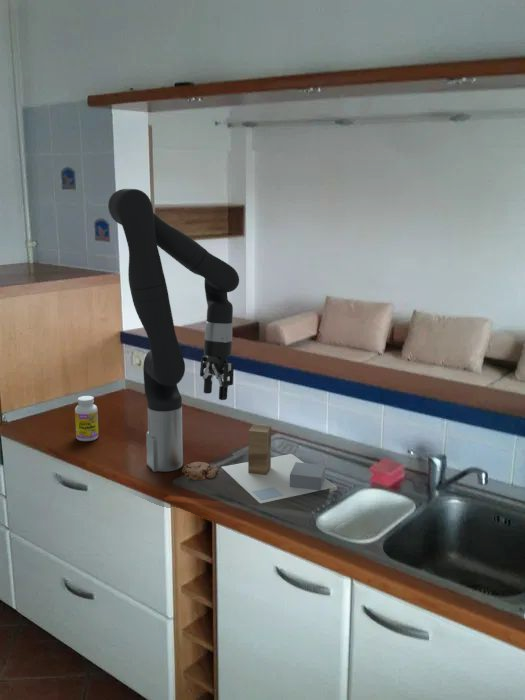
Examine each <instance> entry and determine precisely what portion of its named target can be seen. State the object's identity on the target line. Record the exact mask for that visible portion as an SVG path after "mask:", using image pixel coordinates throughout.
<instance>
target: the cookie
mask: <svg viewBox="0 0 525 700" xmlns="http://www.w3.org/2000/svg"><path fill="white" fill-rule="evenodd" d="M218 471H219V469H218V467H216V466H210V464H209V463H208V462H203V461H202V462H201V461H195V462H191V463H188V464H185V465H184V466H182V470H181V472H182V473H183V474H184V476H185V477H186V479H190V480H193V481H197V480H198V481H199V480H201V481H204V480H206V479H214V478H215V477H216V475H217V473H218Z"/></svg>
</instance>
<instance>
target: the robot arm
mask: <svg viewBox="0 0 525 700" xmlns="http://www.w3.org/2000/svg"><path fill="white" fill-rule="evenodd" d="M107 205H108V212H109V214H110V216H111V218H112V219H113V221H115V222H116V223H117V224H119V225H120V226H122V229H123V232H124V236H125V240H126V244H127V247H128V272H127V273H128V285H129V289H130V295H131V298H132V299H131V300H132V304H133V306H134V309H135V312H136V314H137V316H138V318H139V320H140V322H141V325H142V327H143V329H144V331H145V333H146V335H147V339H148V341H149V342H148V343H149V345H150V346H149V348H150V350H149V351H148V352H147V353H146V354H145V356H144V359H143V365H142V366H143V367H142V368H143V370H142V371H143V386H144V396H145V398H146V402H147V431H146V433H145V438H146V439H145V440H146V441H145V442H146V443H145V446H146V465H147V466H148V467H149V469H151V471H152V472H154V473H155V472H172V471H177V470H179V469H181V468H183V465H184V464H183V463H184V461H183V460H184V455H183V453H184V452H183V404H182V403H183V402H182V401H183V399H182V396H181V393H180V391H179V388H178V384H179V383H180V382H181V381H182V380H183V379H184V378H183V377H184V376H185V372H186V371H185V370H186V365H185V360H184V357H183V354H182V350H181V347H180V344H179V341H178V338H177V334H176V329H175V323H174V318H173V313H172V308H171V302H170V295H169V291H168V285H167V281H166V278H165V273H164V268H163V263H162V259H161V255H160V252H159V248H160V249H161V250H162V251H163V252H165V253H166V254H167V255H169V256H170V257H172V258H173V259H174V260H175V261H176V262H177V263H179V264H180V265H182V266H183V267H184V268H185V269H187V270H189V272H191V273H193V274H194V275H197V276H200V277H203V278H204V285H203V286H204V293H205V299H206V305H207V309H206V323H205V330H204V344H203V346H204V347H203V354H204V355H202V356H201V357H200V358H201V359H200V371H199V376H200V377H202V379H203V393H204V394H211V393H212V389H213V378H214V377H215V379H216V380H218V381H217V382H218V383H219V389H218V400H220V401H225V400H227V399H228V387H229V386H233V385H234V367H235V365H234V363H233V362H228V358H229V357H231V356H232V346H233V312H234V307H233V304H232V302H231V301H230V300H229V298H228V293H231V292H233V291H235V290H236V289H237V288H238V287H239V284H240V275H239V274H238V272H237V270H236V269H235V268H234V267H233V266H232V265H230V264H229V263H227V262H226V261H224V260H223V259H220V258H218V257H217V256H215V255H214V254H212V253H210V252H209V251H208V250H207V249H206V248H204V246H201V245H200V243H198V242H197V241H195V240H194V239H193V238H192V237H190V236H189V235H187V234H185V233H184V232H182V231H180V230H179V229H177V228H175V227H173V226H172V225H170V224H169V223H167V222H166V221H164V220H163V219H162V218H161V217H159V216H158V215H156V213H155V212H154V209H153V207H154V206H153V202H152V201H151V199H150V197H149V195H147V194H146V192H144V191H143V190H141V189H138V188H137V189H136V188H122V189H119V190H116V191H115V192H113V193H112V194H111V195H110V197H109V200H108V203H107Z"/></svg>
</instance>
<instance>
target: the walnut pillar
mask: <svg viewBox="0 0 525 700" xmlns="http://www.w3.org/2000/svg"><path fill="white" fill-rule="evenodd" d="M247 449H248V453H247V454H248V459H247V460H248V461H247V462H248V473H252V474H261V475H267V473H268V472H269V470H270V468H271V458H272V426H271V425H265V424H264V425H263V424H252V425H251V427H250V429H248V448H247Z"/></svg>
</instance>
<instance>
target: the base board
mask: <svg viewBox="0 0 525 700" xmlns="http://www.w3.org/2000/svg"><path fill="white" fill-rule="evenodd" d="M221 468H222V470H223V471H225V473H227V474H228V475H229V476H230V477H231V478H232V479H233V480H234V481H236V483H237V484H238V485H240V486H241V487H242V489H244V490H245V491H246V492H247V493H249V494H250V496H251V497H253V498H254V499H255V500H256V501H257V502H258V503H259V504H265V503H268V502H273V501H278V500H282V499H283V500H284V499H288V498H292V497H295V496H296V497H297V496H301V495H306V494H310V493H314V492H320V491H324V490H328V489H329V491H328V492H329V493H331V492H335V491H337V490H338V485H336V484H334V483H333V482H332V481H330V480H328V479H327V478H326V468H327V467H326V465H325V464H318V463H316V464H315V463H307V462H304V461H302V460H301V459H299V458H298V457H297V456H295V455H294V454H293V453H289V454H283V455H279V456H273V457H272V456H271V468H270V470H269V472H268V473H267V475H261V474H252V473H248V461H246V462H241V463H236V464H230V465H224V466H221ZM259 507H260V508H264V506H263V505H259Z"/></svg>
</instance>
